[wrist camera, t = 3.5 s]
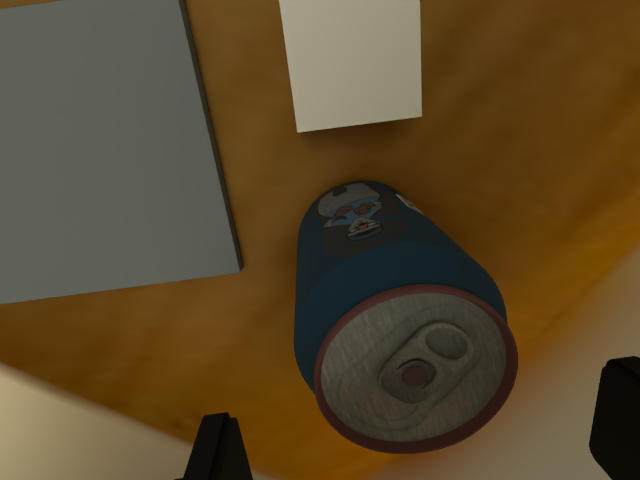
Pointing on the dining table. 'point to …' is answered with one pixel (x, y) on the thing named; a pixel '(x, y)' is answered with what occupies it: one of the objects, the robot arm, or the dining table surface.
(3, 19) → the mat
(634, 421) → the robot arm
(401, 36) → the off-white block
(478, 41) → the dining table surface
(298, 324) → the soda can
